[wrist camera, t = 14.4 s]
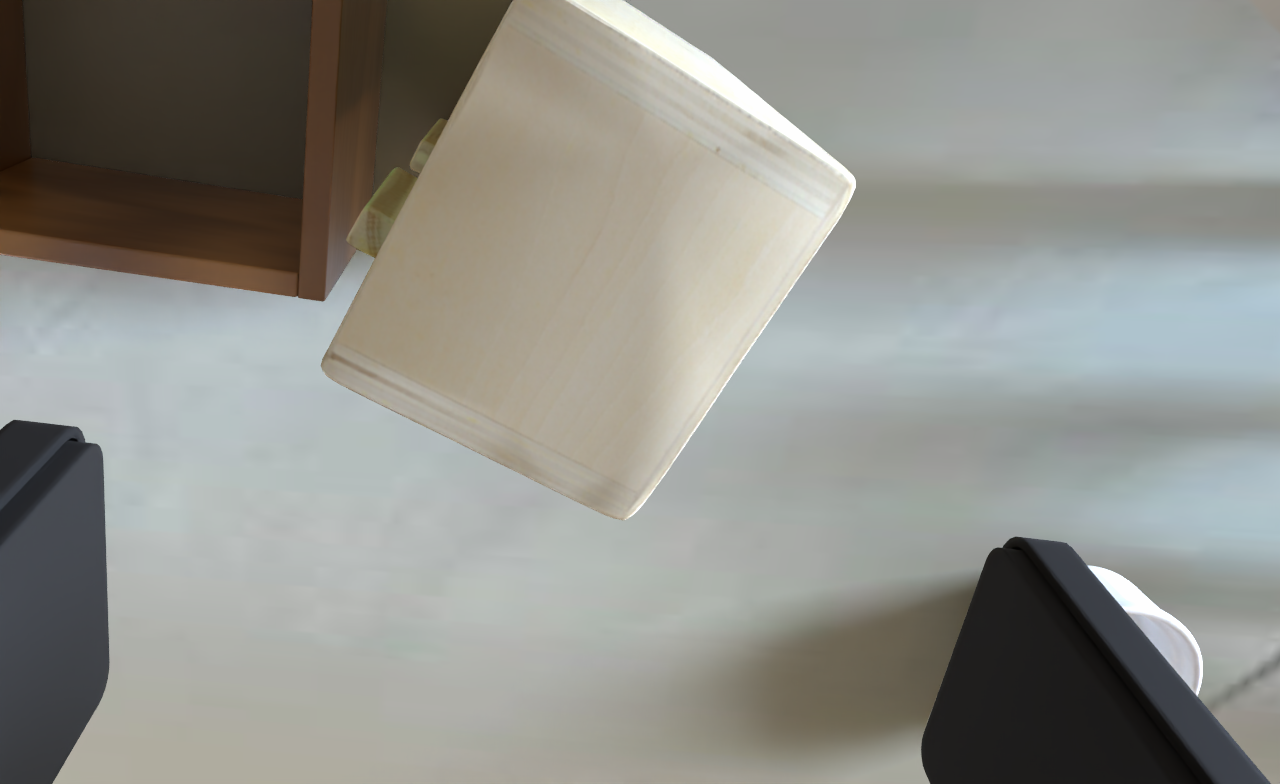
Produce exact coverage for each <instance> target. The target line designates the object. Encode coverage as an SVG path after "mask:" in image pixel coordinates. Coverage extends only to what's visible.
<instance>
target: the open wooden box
mask: <svg viewBox="0 0 1280 784" xmlns="http://www.w3.org/2000/svg"><path fill="white" fill-rule="evenodd" d="M386 12H387V0H312V20H311V40H310V60H309V81H308V101H307V121H306V142H305V162H304V182H303V199H298V198H292V197H285V196H279V195H272V194H266V193H260V192H253V191H247V190H240V189H234V188H227V187H221V186H215V185H208V184H202V183H195V182H189V181H182V180H176V179H170V178H163V177H157V176H150V175H144V174H137V173H131V172H125V171H118V170H112V169H105V168H99V167H92V166H86V165H80V164H73V163H67V162H60V161H54V160H47V159H41V158H35V157H33V158H31V147H30V129H29V112H28V94H27V76H26V59H25V41H24V23H23V6H22V0H0V255H6V256H13V257H20V258H27V259H34V260H41V261H48V262H55V263H62V264H69V265H76V266H83V267H90V268H97V269H104V270H111V271H118V272H125V273H132V274H139V275H146V276H153V277H160V278H167V279H174V280H181V281H188V282H195V283H202V284H209V285H216V286H223V287H229V288H236V289H243V290H250V291H257V292H264V293H271V294H278V295H285V296H292V297H296V296H298V298H303V299H310V300H317V301H325V299H326V298H327V296H328V295H329V293H330V292H331V290H332V288H333V287H334V285H335V284H336V282H337V280H338V279H339V277H340V276H341V274H342V273H343V271H344V269H345V268H346V266H347V265H348V263H349V261H350V260H351V258H352V257H353V255H354V253H355V252H356V250H357V249H356V248H355V247H353V246H352V245H350V244H349V243H348V242H347V241H346V239H347V236H348V234H349V233H350V231H351V229H352V227H353V226H354V224H355V222H356V220H357V218H358V216H359V215H360V213H361V211H362V210H363V209H364V207H365V206H366V204H367V203H368V202H369V200H370V199H371V198H372V195H373V182H374V168H375V155H376V142H377V129H378V116H379V103H380V90H381V77H382V64H383V51H384V38H385V25H386Z"/></svg>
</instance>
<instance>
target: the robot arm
mask: <svg viewBox="0 0 1280 784" xmlns="http://www.w3.org/2000/svg"><path fill="white" fill-rule="evenodd" d="M108 673H109V634H108V602H107V569H106V537H105V504H104V472H103V455H102V451H101V448H100V446H99V445H98V444H93V443H85V439H84V436H83V433H82V431H81V430H80V429H79V428H78V427H72V426H64V425H55V424H47V423H38V422H29V421H21V420H13V421H11V422H10V423H8V424H6V425H5V426H4V427H3V428H2V429H1V430H0V784H52V783H53V781H54V780H55V778H56V776H57V775H58V773H59V771H60V769H61V768H62V766H63V764H64V763H65V761H66V759H67V757H68V756H69V754H70V752H71V751H72V749H73V747H74V745H75V744H76V742H77V740H78V739H79V737H80V735H81V734H82V732H83V730H84V728H85V727H86V725H87V723H88V722H89V720H90V718H91V716H92V715H93V713H94V711H95V710H96V708H97V706H98V705H99V702H100V700H101V698H102V696H103V693H104V690H105V687H106V683H107V679H108ZM921 755H922V762H923V767H924V770H925V772H926V775H927V777H928V779H929V781H930V784H1271V783H1270V782H1269V781H1268V780H1267V779H1266V777H1265V776H1264V775H1263V774H1262V773H1261V771H1260V770H1259V769H1258V768H1257V767H1256V765H1255V764H1254V763H1253V762H1252V761H1251V760H1250V758H1249V757H1248V756H1247V755H1246V754H1245V752H1244V751H1243V750H1242V749H1241V748H1240V746H1239V745H1238V744H1237V743H1236V742H1235V741H1234V739H1233V738H1232V737H1231V736H1230V735H1229V733H1228V732H1227V731H1226V730H1225V729H1224V728H1223V726H1222V725H1221V724H1220V723H1219V722H1218V720H1217V719H1216V718H1215V717H1214V716H1213V714H1212V713H1211V712H1210V711H1209V710H1208V709H1207V707H1206V706H1205V705H1204V704H1203V703H1202V701H1201V700H1200V699H1199V698H1198V697H1197V695H1196V694H1195V693H1194V692H1193V691H1192V690H1191V688H1190V687H1189V686H1188V685H1187V684H1186V682H1185V681H1184V680H1183V679H1182V678H1181V676H1180V675H1179V674H1178V673H1177V672H1176V671H1175V669H1174V668H1173V667H1172V666H1171V665H1170V663H1169V662H1168V661H1167V660H1166V659H1165V657H1164V656H1163V655H1162V654H1161V653H1160V652H1159V650H1158V649H1157V648H1156V647H1155V646H1154V644H1153V643H1152V642H1151V641H1150V640H1149V639H1148V637H1147V636H1146V635H1145V634H1144V633H1143V631H1142V630H1141V629H1140V628H1139V627H1138V625H1137V624H1136V623H1135V622H1134V621H1133V620H1132V618H1131V617H1130V616H1129V615H1128V614H1127V612H1126V611H1125V610H1124V609H1123V608H1122V606H1121V605H1120V604H1119V603H1118V602H1117V601H1116V599H1115V598H1114V597H1113V596H1112V595H1111V593H1110V592H1109V591H1108V590H1107V589H1106V587H1105V586H1104V585H1103V584H1102V583H1101V582H1100V580H1099V579H1098V578H1097V577H1096V576H1095V574H1094V573H1093V572H1092V571H1091V570H1090V568H1089V567H1088V566H1087V565H1086V564H1085V563H1084V561H1083V560H1082V559H1081V558H1080V557H1079V555H1078V554H1077V553H1076V552H1075V551H1074V550H1073V548H1072V547H1070V546H1069V545H1068V544H1067V543H1063V542H1057V541H1048V540H1039V539H1031V538H1022V537H1013V538H1011V539H1009V540H1008V541H1007V542H1006V544H1005V545H1004V546H1003V548H995V549H993V550H992V551H991V552H990V554H989V555H988V557H987V559H986V562H985V565H984V567H983V570H982V573H981V576H980V578H979V581H978V584H977V587H976V590H975V592H974V595H973V598H972V601H971V603H970V606H969V609H968V612H967V615H966V617H965V620H964V623H963V626H962V628H961V631H960V634H959V637H958V640H957V642H956V645H955V648H954V651H953V653H952V656H951V659H950V662H949V664H948V667H947V670H946V673H945V676H944V678H943V681H942V684H941V687H940V689H939V692H938V695H937V698H936V701H935V703H934V706H933V709H932V712H931V714H930V717H929V720H928V723H927V726H926V728H925V731H924V734H923V738H922V746H921Z"/></svg>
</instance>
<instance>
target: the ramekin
mask: <svg viewBox="0 0 1280 784" xmlns="http://www.w3.org/2000/svg"><path fill="white" fill-rule="evenodd" d="M1087 566H1088V565H1087ZM1088 567H1089V568H1090V570H1091V571H1092V572H1093V573H1094V574H1095V576H1096V577H1097V578H1098V579H1099V580H1100V582H1101V583H1102V584H1103V585H1104V586H1105V587H1106V589H1107V590H1108V591H1109V592H1110V593H1111V595H1112V596H1113V597H1114V598H1115V599H1116V601H1117V602H1118V603H1119V604H1120V605H1121V606H1122V608H1123V609H1124V610H1125V611H1126V612H1127V614H1128V615H1129V616H1130V617H1131V618H1132V620H1133V621H1134V622H1135V623H1136V624H1137V625H1138V627H1139V628H1140V629H1141V630H1142V631H1143V633H1144V634H1145V635H1146V636H1147V637H1148V639H1149V640H1150V641H1151V642H1152V643H1153V644H1154V646H1155V647H1156V648H1157V649H1158V650H1159V652H1160V653H1161V654H1162V655H1163V656H1164V657H1165V659H1166V660H1167V661H1168V662H1169V663H1170V665H1171V666H1172V667H1173V668H1174V669H1175V671H1176V672H1177V673H1178V674H1179V675H1180V676H1181V678H1182V679H1183V680H1184V681H1185V682H1186V684H1187V685H1188V686H1189V687H1190V688H1191V690H1192V691H1193V692H1194V693H1195V694H1196V695H1197V694H1198V692H1199V689H1200V685H1201V681H1202V656H1201V653H1200V650H1199V647H1198V645H1197V643H1196V641H1195V639H1194V638H1193V636H1192V635H1191V633H1190V632H1189V631H1188V630H1187V628H1186V627H1185V626H1183V625H1182V624H1181V623H1180V622H1179V621H1178V620H1176V619H1175V618H1174V617H1172V616H1171V615H1169V614H1168V613H1166V612H1164V611H1162V610H1161V609H1159V608H1158V607H1157V606H1156V605H1155V604H1154V603H1153V602H1152V601H1150V600H1149V599H1148V598H1147V597H1146V596H1145V595H1144V594H1143V593H1142V592H1141V591H1140V590H1139V589H1138V588H1137V587H1136V586H1134V585H1133V584H1132V583H1131V582H1129V581H1128V580H1126V579H1125V578H1124V577H1122V576H1120V575H1118V574H1116V573H1114V572H1112V571H1110V570H1107V569H1104V568H1101V567H1095V566H1088Z"/></svg>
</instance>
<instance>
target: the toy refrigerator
mask: <svg viewBox="0 0 1280 784" xmlns="http://www.w3.org/2000/svg"><path fill="white" fill-rule="evenodd" d="M410 168H411V169H412V170H414V171H416V172H418V173H420V175H419V177H418V178H417V177H415V176H413V175H412V174H410V173H408V172H406V171H404V170H403V169H401V168H399V167H398V168H394V169H393V170H392V171H391V172H390V174H389V175H388V176H387V178H386V179H385V180H384V181H383V183H382V184H381V185H380V187H379V188H378V189H377V191H376V192H375V193H374V195H373V196H372V198H371V199H370V200H369V202H368V203H367V204H366V206H365V207H364V209H363V210H362V211H361V213H360V215H359V216H358V218H357V220H356V222H355V224H354V226H353V227H352V229H351V231H350V233H349V234H348V236H347V239H346V241H347V242H348V243H349V244H350V245H352V246H353V247H355V248H356V249H358V250H360V251H362V252H364V253H366V254H368V255H370V256H372V257H374V258H375V260H374V262H373V263H372V265H371V267H370V269H369V271H368V273H367V275H366V277H365V279H364V281H363V283H362V285H361V287H360V288H359V290H358V292H357V294H356V296H355V298H354V300H353V302H352V304H351V306H350V308H349V310H348V312H347V314H346V315H345V317H344V319H343V321H342V323H341V325H340V327H339V329H338V331H337V333H336V335H335V337H334V338H333V340H332V342H331V344H330V346H329V348H328V350H327V352H326V354H325V355H324V357H323V359H322V363H321V367H322V370H323V372H324V373H325V375H326V376H327V377H329V378H330V379H332V380H334V381H335V382H337V383H338V384H340V385H342V386H344V387H346V388H348V389H350V390H352V391H354V392H356V393H358V394H360V395H362V396H364V397H366V398H368V399H370V400H372V401H374V402H376V403H378V404H380V405H382V406H384V407H386V408H388V409H390V410H392V411H394V412H396V413H398V414H400V415H402V416H404V417H406V418H408V419H410V420H412V421H414V422H416V423H418V424H420V425H422V426H424V427H427V428H429V429H431V430H433V431H435V432H437V433H439V434H441V435H443V436H445V437H447V438H449V439H451V440H453V441H455V442H457V443H459V444H461V445H463V446H465V447H467V448H469V449H471V450H473V451H475V452H477V453H479V454H481V455H483V456H485V457H487V458H489V459H491V460H493V461H495V462H497V463H500V464H502V465H504V466H506V467H508V468H510V469H512V470H514V471H516V472H518V473H520V474H522V475H524V476H526V477H528V478H530V479H532V480H534V481H536V482H538V483H540V484H542V485H544V486H546V487H548V488H550V489H552V490H554V491H556V492H558V493H560V494H562V495H564V496H566V497H568V498H570V499H572V500H574V501H577V502H579V503H581V504H583V505H585V506H587V507H589V508H591V509H593V510H595V511H598V512H600V513H602V514H604V515H606V516H609V517H612V518H615V519H620V520H625V519H628V518H630V517H631V516H632V515H633V514H635V513H636V512H637V511H638V510H639V509H640V507H641V506H642V505H643V504H644V503H645V501H646V500H647V499H648V497H649V496H650V495H651V493H652V492H653V491H654V489H655V488H656V486H657V485H658V484H659V482H660V481H661V480H662V478H663V477H664V475H665V474H666V473H667V471H668V470H669V468H670V467H671V466H672V464H673V463H674V461H675V460H676V458H677V457H678V455H679V454H680V452H681V451H682V449H683V448H684V446H685V445H686V443H687V442H688V440H689V439H690V437H691V436H692V435H693V433H694V432H695V430H696V429H697V427H698V426H699V424H700V423H701V421H702V420H703V418H704V417H705V415H706V414H707V412H708V411H709V409H710V408H711V406H712V405H713V403H714V402H715V400H716V399H717V397H718V396H719V394H720V393H721V391H722V390H723V388H724V387H725V385H726V384H727V382H728V381H729V379H730V378H731V376H732V375H733V373H734V372H735V370H736V369H737V367H738V366H739V364H740V363H741V362H742V360H743V359H744V357H745V356H746V354H747V353H748V351H749V350H750V348H751V347H752V346H753V344H754V343H755V341H756V340H757V338H758V337H759V335H760V334H761V332H762V331H763V329H764V328H765V327H766V325H767V324H768V322H769V321H770V319H771V318H772V316H773V315H774V313H775V312H776V310H777V309H778V308H779V306H780V305H781V303H782V302H783V300H784V299H785V297H786V296H787V294H788V293H789V291H790V290H791V289H792V287H793V286H794V284H795V283H796V281H797V280H798V278H799V277H800V275H801V274H802V273H803V271H804V270H805V268H806V267H807V265H808V264H809V262H810V261H811V259H812V258H813V257H814V255H815V254H816V252H817V251H818V249H819V248H820V246H821V245H822V244H823V242H824V241H825V239H826V238H827V236H828V235H829V233H830V232H831V230H832V229H833V228H834V226H835V225H836V223H837V222H838V220H839V219H840V217H841V215H842V213H843V211H844V210H845V208H846V206H847V204H848V203H849V201H850V199H851V197H852V194H853V192H854V190H855V187H856V183H855V178H854V177H853V175H852V174H851V173H850V172H849V171H848V170H847V169H846V168H845V167H844V166H842V165H841V164H840V163H839V162H838V161H836V160H835V159H834V158H833V157H831V156H830V155H829V154H828V153H826V152H825V151H824V150H823V149H822V148H821V147H820V146H819V145H817V144H816V143H815V142H814V141H812V140H811V139H810V138H809V137H808V136H806V135H805V134H804V133H803V132H801V131H800V130H799V129H798V128H797V127H795V126H794V125H793V124H792V123H790V122H789V121H788V120H787V119H785V118H784V117H783V116H782V115H781V114H779V113H778V112H777V111H776V110H774V109H773V108H772V107H771V106H770V105H768V104H767V103H766V102H765V101H764V100H762V99H761V98H760V97H759V96H758V95H757V94H755V93H754V92H753V91H752V90H750V89H749V88H748V87H747V86H745V85H744V84H743V83H742V82H741V81H740V80H738V79H737V78H736V77H735V76H734V75H732V74H731V73H730V72H729V71H727V70H726V69H725V68H724V67H722V66H721V65H720V64H719V63H717V62H716V61H715V60H714V59H713V58H711V57H710V56H709V55H707V54H705V53H704V52H702V51H700V50H699V49H697V48H696V47H694V46H693V45H691V44H690V43H688V42H687V41H685V40H683V39H682V38H680V37H679V36H677V35H676V34H674V33H673V32H671V31H670V30H668V29H666V28H665V27H663V26H662V25H660V24H659V23H657V22H656V21H654V20H653V19H651V18H650V17H648V16H647V15H645V14H644V13H642V12H641V11H639V10H638V9H636V8H634V7H633V6H631V5H630V4H628V3H627V2H625V1H624V0H513V1H512V3H511V5H510V6H509V8H508V10H507V12H506V13H505V15H504V17H503V19H502V21H501V23H500V24H499V26H498V28H497V30H496V32H495V34H494V36H493V37H492V39H491V41H490V43H489V45H488V47H487V49H486V50H485V52H484V54H483V56H482V58H481V60H480V62H479V63H478V65H477V67H476V69H475V71H474V73H473V75H472V76H471V78H470V80H469V82H468V84H467V86H466V88H465V90H464V91H463V93H462V95H461V97H460V99H459V101H458V103H457V105H456V107H455V109H454V110H453V112H452V114H451V116H450V118H449V120H448V121H447V120H445V119H442V118H441V119H439V120H438V121H437V122H436V123H435V124H434V126H433V127H432V128H431V129H430V131H429V132H428V133H427V134H426V136H425V137H424V138H423V139H422V141H421V142H420V144H419V146H418V148H417V150H416V152H415V154H414V156H413V158H412V160H411V162H410Z"/></svg>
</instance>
